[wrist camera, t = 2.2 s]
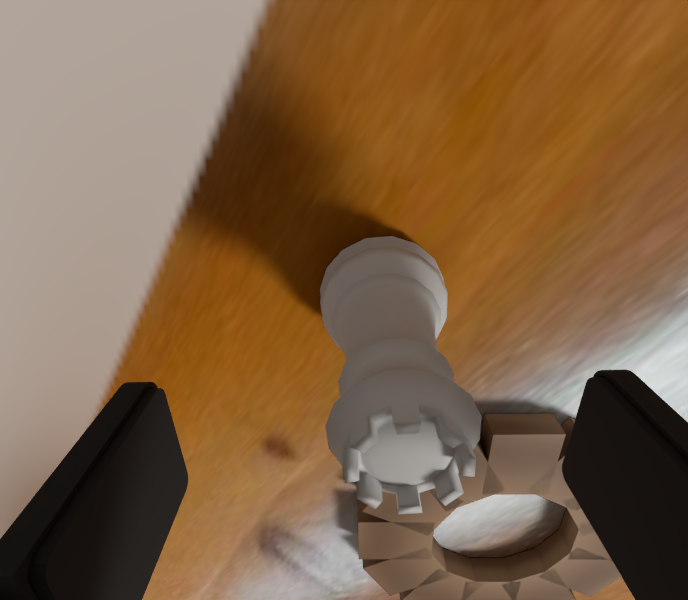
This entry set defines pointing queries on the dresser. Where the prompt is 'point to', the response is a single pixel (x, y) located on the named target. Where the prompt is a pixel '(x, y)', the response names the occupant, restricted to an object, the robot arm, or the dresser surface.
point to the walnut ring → (490, 478)
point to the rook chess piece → (395, 376)
